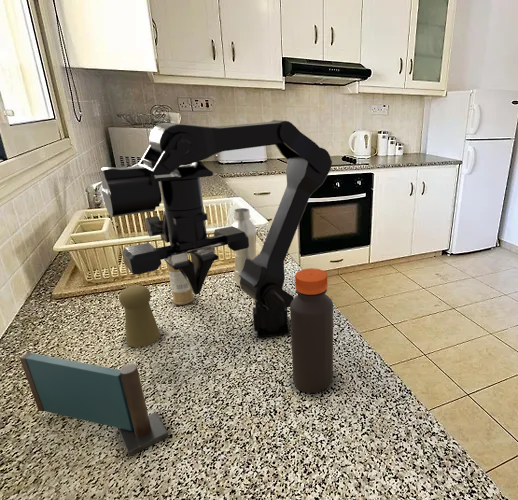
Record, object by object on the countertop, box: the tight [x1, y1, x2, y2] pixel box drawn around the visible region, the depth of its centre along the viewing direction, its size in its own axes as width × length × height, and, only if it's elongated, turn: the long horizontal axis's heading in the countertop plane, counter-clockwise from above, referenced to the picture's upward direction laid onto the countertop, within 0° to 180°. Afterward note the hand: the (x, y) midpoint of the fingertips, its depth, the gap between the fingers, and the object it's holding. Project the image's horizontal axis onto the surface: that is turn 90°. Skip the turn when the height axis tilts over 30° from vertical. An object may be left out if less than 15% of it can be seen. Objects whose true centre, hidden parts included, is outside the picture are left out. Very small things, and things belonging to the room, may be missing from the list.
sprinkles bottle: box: [166, 262, 195, 306], centre depth 86 cm, size 5×5×14 cm
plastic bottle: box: [231, 207, 258, 288], centre depth 93 cm, size 6×7×20 cm
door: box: [19, 351, 134, 431], centre depth 52 cm, size 1×16×10 cm, turn 78°
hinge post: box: [118, 363, 169, 457], centre depth 51 cm, size 5×5×12 cm
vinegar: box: [289, 267, 334, 394], centre depth 60 cm, size 7×7×20 cm
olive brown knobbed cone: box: [118, 284, 161, 348], centre depth 72 cm, size 6×6×11 cm
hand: (196, 293), depth 65 cm, fingers closed
